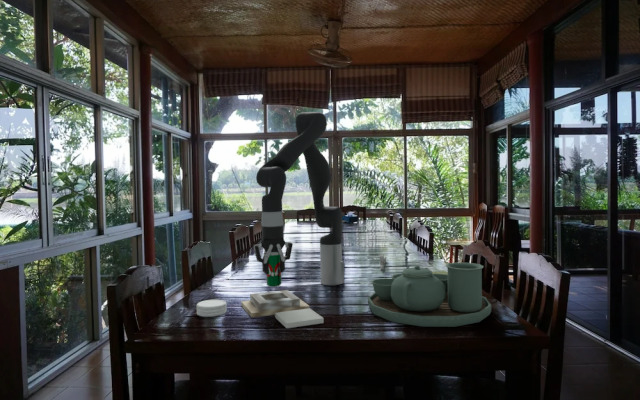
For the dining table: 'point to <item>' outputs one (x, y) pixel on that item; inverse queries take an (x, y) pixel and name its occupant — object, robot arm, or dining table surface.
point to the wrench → (382, 261)
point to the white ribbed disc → (211, 308)
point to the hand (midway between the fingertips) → (273, 272)
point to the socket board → (269, 312)
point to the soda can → (274, 270)
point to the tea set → (432, 297)
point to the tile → (298, 318)
